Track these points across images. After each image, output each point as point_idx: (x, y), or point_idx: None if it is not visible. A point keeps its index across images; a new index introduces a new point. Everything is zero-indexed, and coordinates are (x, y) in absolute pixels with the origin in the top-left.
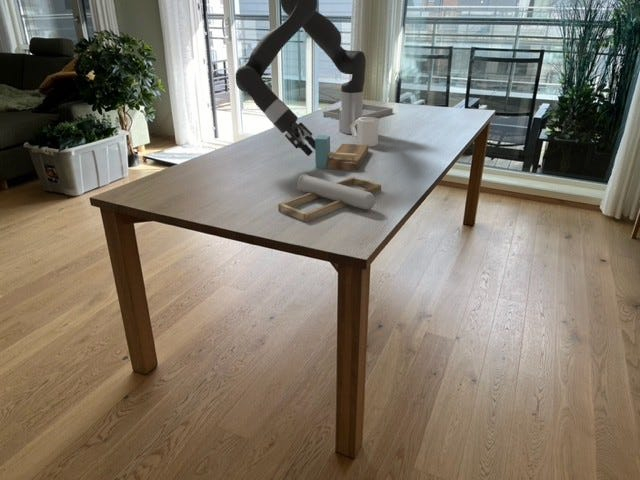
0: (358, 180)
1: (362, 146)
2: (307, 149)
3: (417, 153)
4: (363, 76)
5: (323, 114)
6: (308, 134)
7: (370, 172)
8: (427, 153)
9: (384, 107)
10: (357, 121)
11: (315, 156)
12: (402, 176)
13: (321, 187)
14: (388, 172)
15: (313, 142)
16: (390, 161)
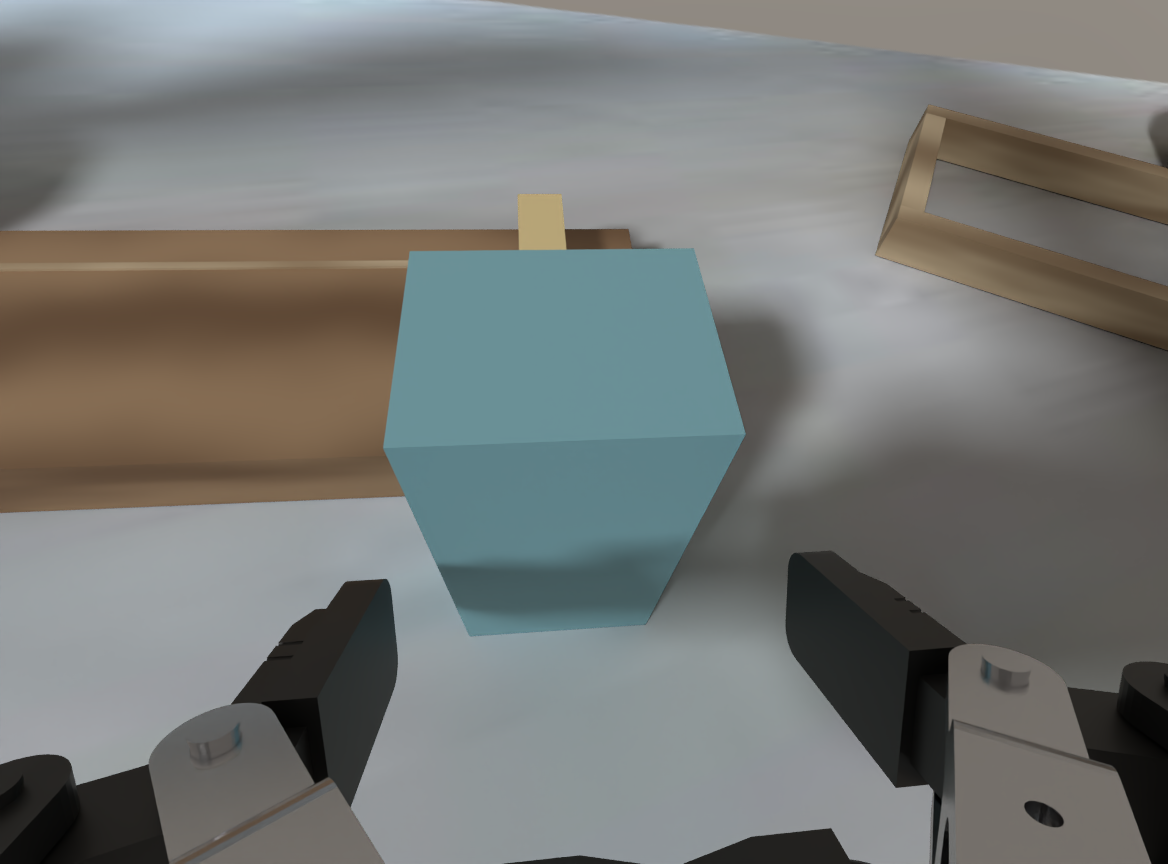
0: (925, 195)
1: (10, 265)
2: (908, 606)
3: (143, 61)
4: None
5: None
6: (273, 796)
7: (620, 208)
8: (150, 32)
9: None
10: None
11: (668, 578)
12: (631, 93)
13: None
14: (584, 140)
15: (358, 670)
16: (340, 147)
